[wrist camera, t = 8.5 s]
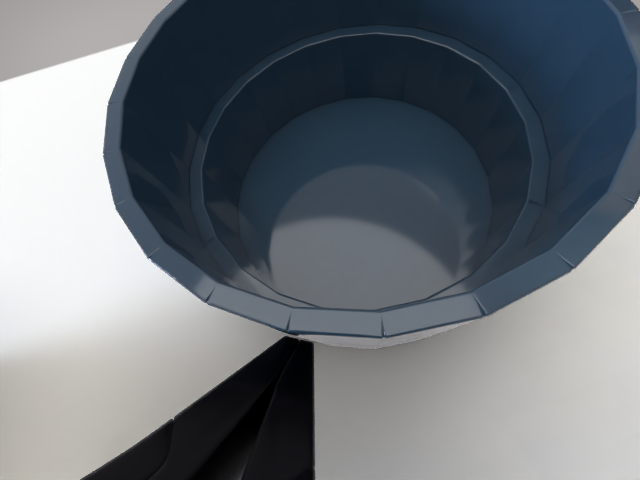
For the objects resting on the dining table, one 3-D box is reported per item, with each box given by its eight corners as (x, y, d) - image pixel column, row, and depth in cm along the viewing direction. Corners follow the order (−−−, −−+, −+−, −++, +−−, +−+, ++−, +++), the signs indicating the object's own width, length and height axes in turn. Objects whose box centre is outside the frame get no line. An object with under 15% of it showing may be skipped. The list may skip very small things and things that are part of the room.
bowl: (579, 198, 16) (810, 23, 8) (350, 427, 14) (323, 533, 5) (361, 56, 22) (357, -131, 13) (176, 201, 20) (35, 86, 11)
